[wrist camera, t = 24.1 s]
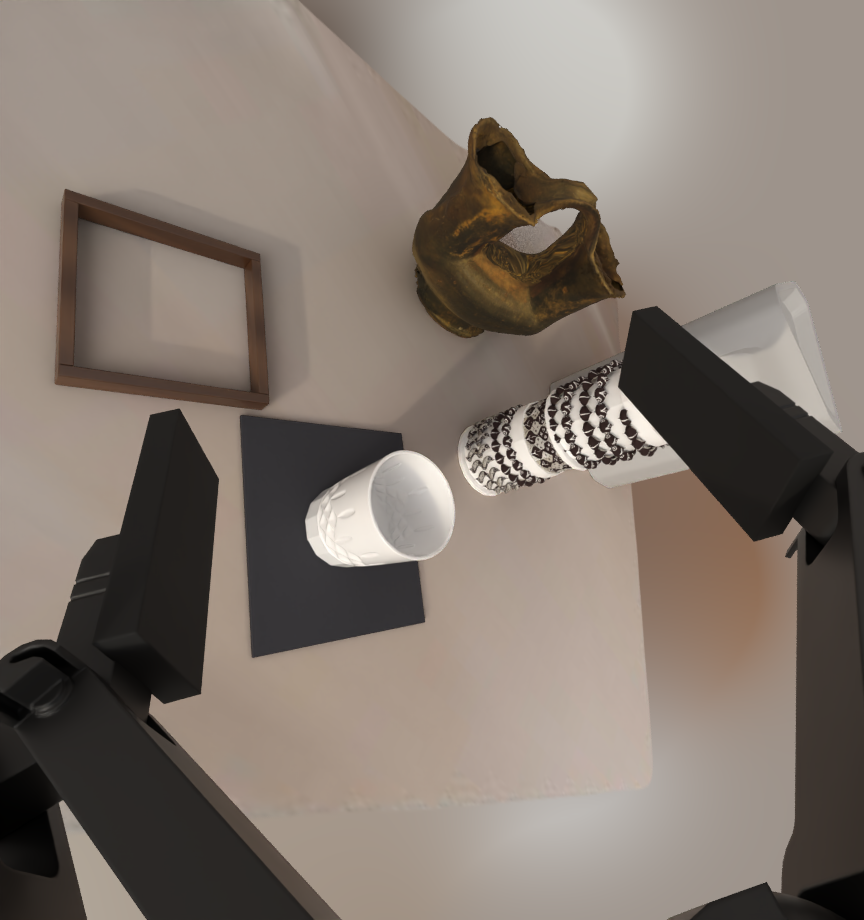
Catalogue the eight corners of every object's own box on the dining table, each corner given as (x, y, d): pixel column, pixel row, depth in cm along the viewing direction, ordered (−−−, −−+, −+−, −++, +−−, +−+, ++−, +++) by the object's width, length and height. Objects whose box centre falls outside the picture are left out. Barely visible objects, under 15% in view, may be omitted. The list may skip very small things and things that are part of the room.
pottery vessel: (357, 291, 52) (504, 158, 38) (362, 209, 56) (498, 61, 42) (517, 373, 67) (665, 301, 53) (513, 305, 71) (650, 220, 57)
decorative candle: (519, 495, 61) (749, 432, 43) (466, 504, 54) (711, 435, 37) (500, 421, 62) (716, 332, 45) (447, 422, 56) (674, 318, 38)
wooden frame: (61, 202, 36) (64, 188, 34) (252, 263, 45) (260, 253, 44) (54, 384, 32) (57, 375, 31) (261, 410, 42) (269, 404, 40)
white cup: (366, 587, 43) (446, 575, 36) (284, 555, 39) (355, 535, 32) (387, 503, 47) (462, 477, 40) (313, 466, 43) (383, 430, 36)
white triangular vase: (550, 338, 76) (761, 228, 56) (606, 382, 84) (807, 301, 64) (549, 453, 67) (795, 372, 48) (611, 490, 76) (843, 434, 56)
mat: (239, 416, 40) (241, 414, 40) (399, 434, 51) (401, 433, 51) (251, 657, 36) (253, 657, 36) (423, 622, 47) (425, 622, 46)
